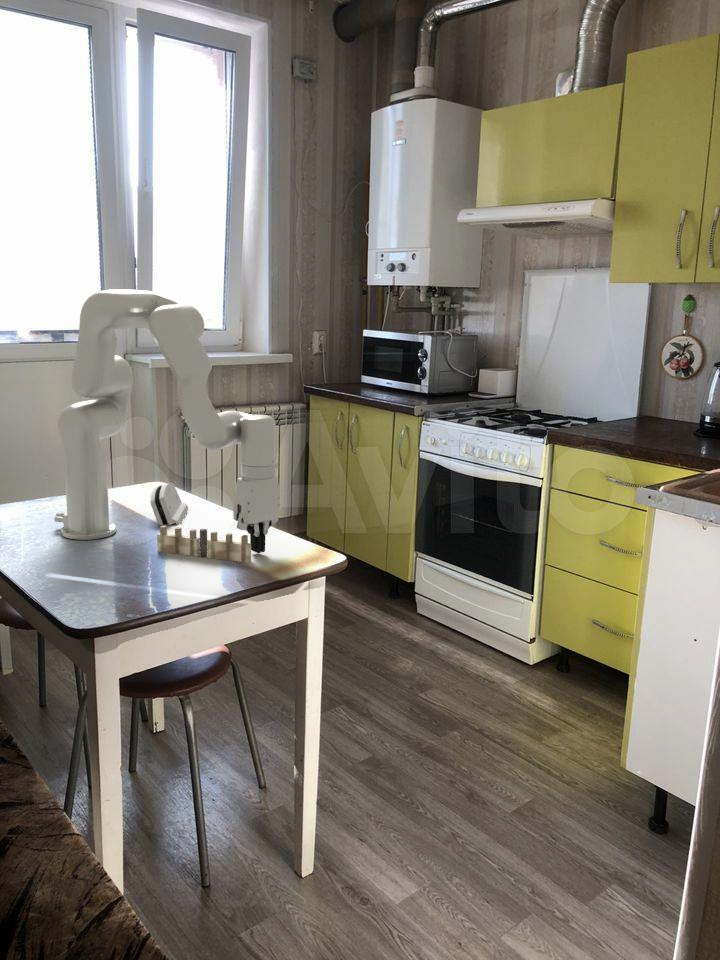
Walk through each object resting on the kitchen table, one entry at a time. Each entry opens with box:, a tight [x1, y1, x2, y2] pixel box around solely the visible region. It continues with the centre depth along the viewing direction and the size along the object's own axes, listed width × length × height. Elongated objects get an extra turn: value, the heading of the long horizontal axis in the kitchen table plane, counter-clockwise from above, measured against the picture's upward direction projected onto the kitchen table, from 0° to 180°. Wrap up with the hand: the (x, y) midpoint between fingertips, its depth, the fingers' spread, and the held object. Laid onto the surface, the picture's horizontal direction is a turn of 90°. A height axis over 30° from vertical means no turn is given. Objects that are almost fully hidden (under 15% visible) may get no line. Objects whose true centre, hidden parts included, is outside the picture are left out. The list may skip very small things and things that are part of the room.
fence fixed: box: [156, 525, 208, 559], centre depth 177 cm, size 12×2×6 cm, turn 75°
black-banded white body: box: [150, 482, 189, 526], centre depth 205 cm, size 17×5×10 cm, turn 4°
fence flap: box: [207, 531, 252, 564], centre depth 174 cm, size 10×1×6 cm, turn 75°
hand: (257, 550), depth 178 cm, fingers closed
